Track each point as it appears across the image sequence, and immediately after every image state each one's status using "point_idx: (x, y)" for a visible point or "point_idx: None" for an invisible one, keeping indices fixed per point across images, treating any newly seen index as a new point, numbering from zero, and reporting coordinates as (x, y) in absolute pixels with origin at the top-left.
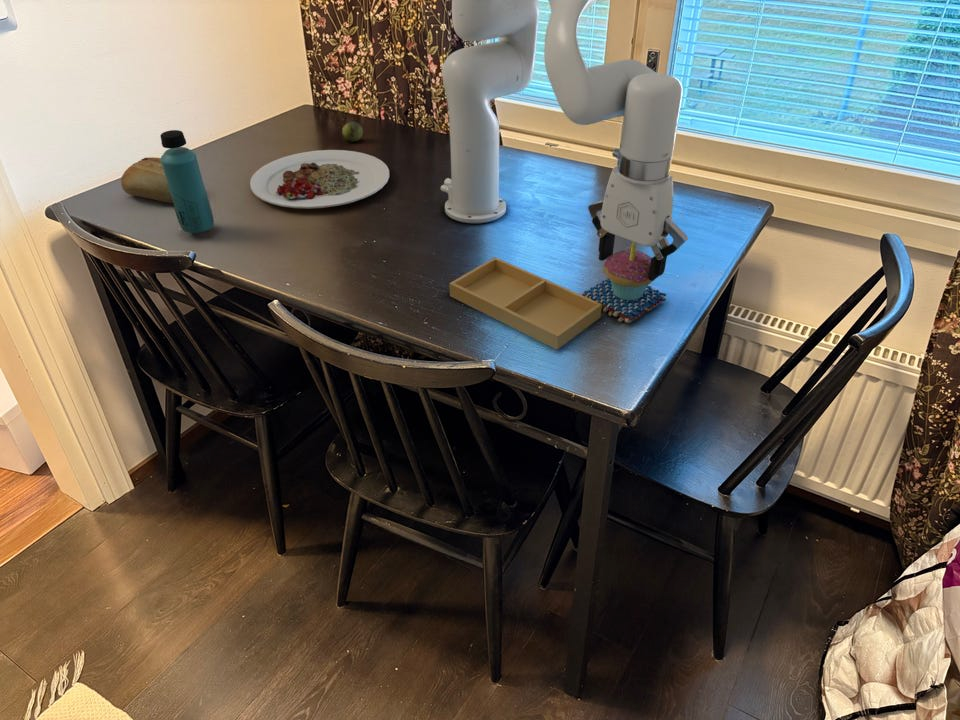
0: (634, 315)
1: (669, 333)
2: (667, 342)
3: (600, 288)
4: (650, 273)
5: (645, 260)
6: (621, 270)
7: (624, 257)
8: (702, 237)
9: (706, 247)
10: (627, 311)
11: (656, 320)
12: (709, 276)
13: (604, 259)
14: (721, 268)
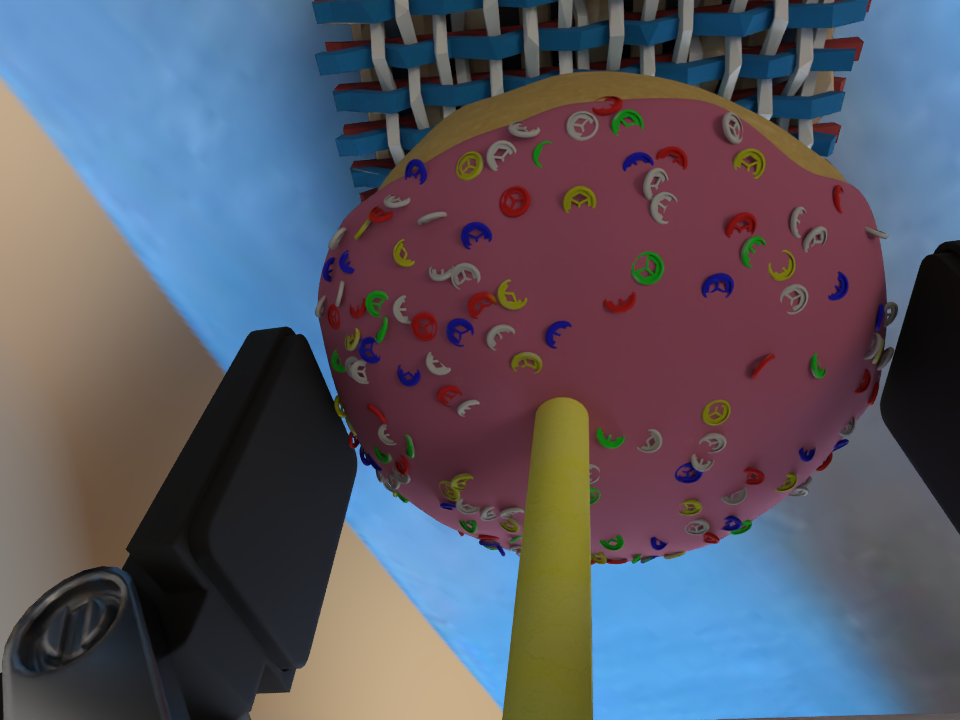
0: (368, 83)
1: (138, 146)
2: (44, 50)
3: None
4: (251, 376)
5: (448, 495)
6: (548, 197)
7: (663, 398)
8: (644, 708)
9: (593, 683)
10: (375, 21)
11: (298, 194)
12: (451, 590)
13: (917, 284)
14: (462, 637)
